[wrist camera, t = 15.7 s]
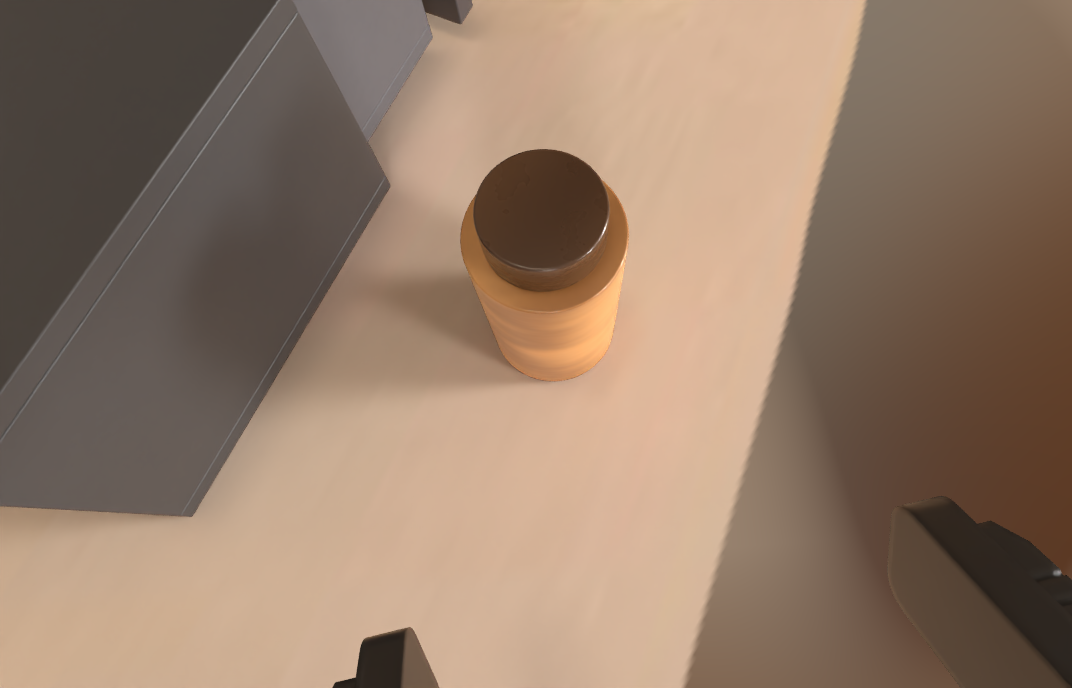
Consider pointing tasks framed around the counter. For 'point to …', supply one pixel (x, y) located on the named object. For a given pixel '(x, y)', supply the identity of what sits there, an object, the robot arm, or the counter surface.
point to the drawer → (373, 46)
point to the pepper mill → (547, 261)
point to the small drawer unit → (160, 237)
